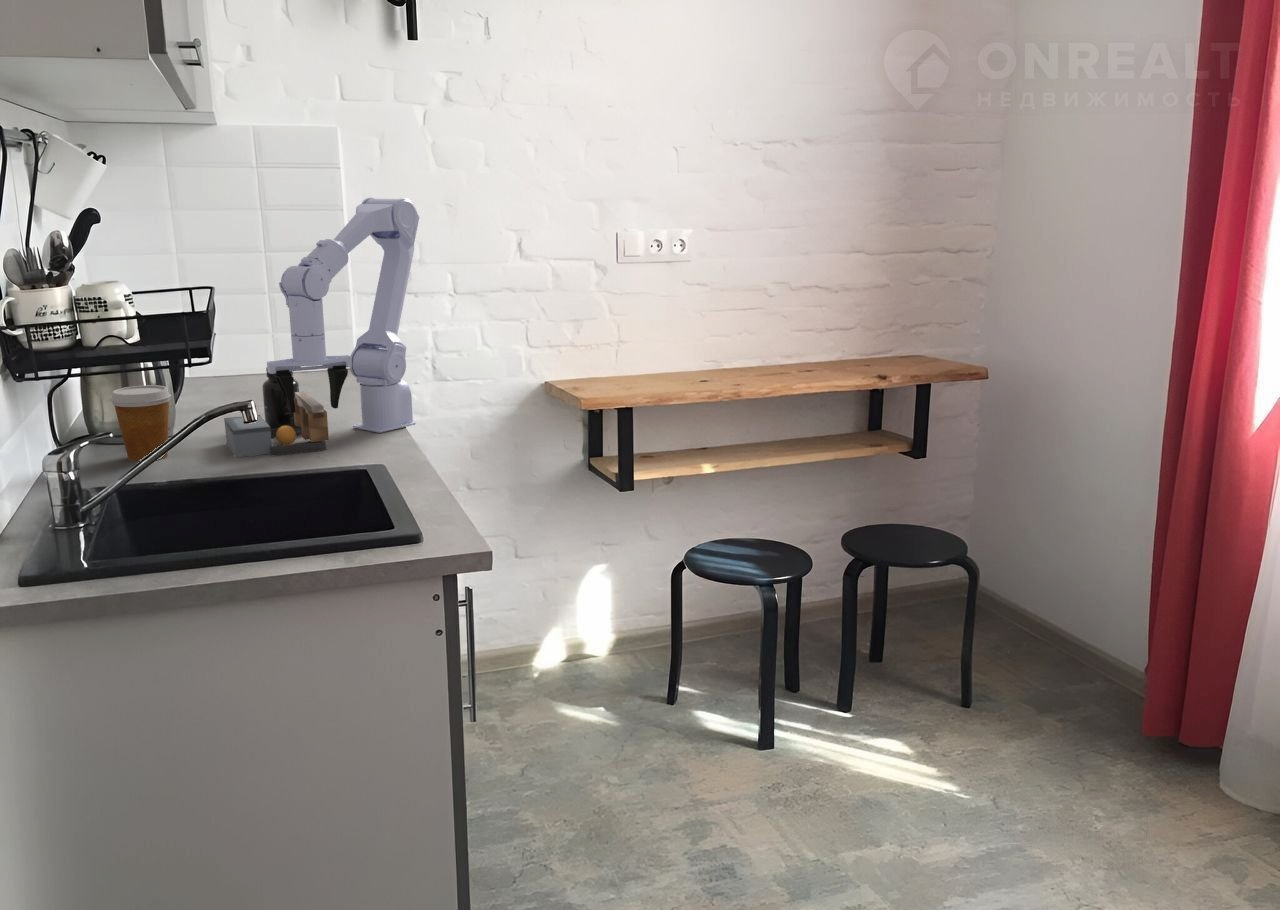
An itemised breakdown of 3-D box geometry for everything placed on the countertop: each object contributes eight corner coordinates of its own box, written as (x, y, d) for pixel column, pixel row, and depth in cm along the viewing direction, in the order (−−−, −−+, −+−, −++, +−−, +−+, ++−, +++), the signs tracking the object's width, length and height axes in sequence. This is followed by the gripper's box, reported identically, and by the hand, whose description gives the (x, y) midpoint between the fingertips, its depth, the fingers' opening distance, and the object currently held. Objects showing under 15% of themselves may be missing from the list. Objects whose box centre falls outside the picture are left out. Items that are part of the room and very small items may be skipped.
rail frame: (309, 432, 206) (308, 425, 205) (326, 449, 193) (325, 441, 192) (257, 438, 201) (256, 430, 201) (271, 455, 188) (270, 447, 188)
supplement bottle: (258, 428, 209) (252, 367, 206) (284, 421, 215) (279, 362, 212) (283, 432, 206) (278, 370, 203) (309, 425, 212) (305, 365, 209)
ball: (289, 441, 199) (287, 422, 198) (300, 443, 197) (299, 425, 196) (272, 444, 196) (271, 426, 196) (284, 447, 194) (282, 428, 194)
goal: (261, 439, 200) (259, 414, 199) (272, 453, 190) (270, 426, 189) (226, 443, 197) (224, 418, 196) (235, 457, 187) (233, 430, 186)
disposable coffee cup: (113, 466, 182) (104, 396, 179) (123, 452, 191) (115, 386, 188) (173, 462, 184) (166, 393, 181) (181, 449, 193) (173, 383, 190)
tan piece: (311, 428, 206) (308, 391, 204) (329, 445, 192) (326, 406, 191) (295, 429, 205) (292, 392, 203) (312, 447, 191) (309, 407, 189)
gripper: (341, 329, 197) (346, 401, 201) (260, 334, 190) (266, 409, 193) (353, 333, 191) (358, 408, 195) (270, 339, 184) (276, 416, 187)
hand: (313, 409), depth 194 cm, fingers open, 7 cm apart
